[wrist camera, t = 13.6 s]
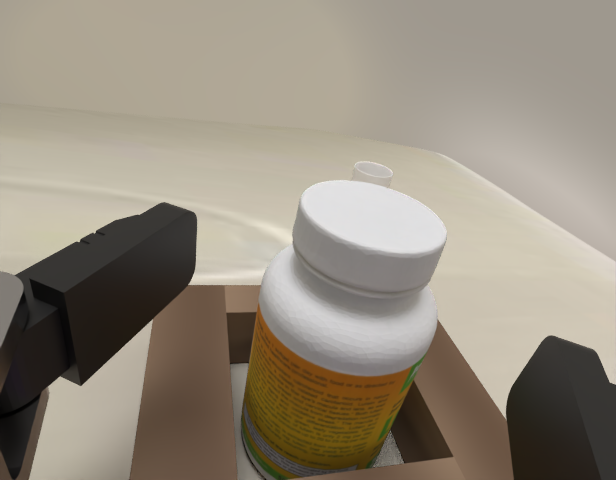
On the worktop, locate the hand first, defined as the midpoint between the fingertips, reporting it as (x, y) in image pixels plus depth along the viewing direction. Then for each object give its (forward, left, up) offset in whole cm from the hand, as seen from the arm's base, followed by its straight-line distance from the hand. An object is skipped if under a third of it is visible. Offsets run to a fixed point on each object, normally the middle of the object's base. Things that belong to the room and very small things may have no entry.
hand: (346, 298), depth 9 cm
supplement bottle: (+1, +2, -9) cm, 9 cm away
